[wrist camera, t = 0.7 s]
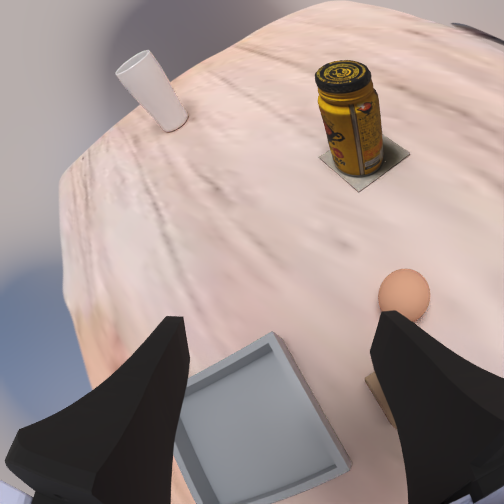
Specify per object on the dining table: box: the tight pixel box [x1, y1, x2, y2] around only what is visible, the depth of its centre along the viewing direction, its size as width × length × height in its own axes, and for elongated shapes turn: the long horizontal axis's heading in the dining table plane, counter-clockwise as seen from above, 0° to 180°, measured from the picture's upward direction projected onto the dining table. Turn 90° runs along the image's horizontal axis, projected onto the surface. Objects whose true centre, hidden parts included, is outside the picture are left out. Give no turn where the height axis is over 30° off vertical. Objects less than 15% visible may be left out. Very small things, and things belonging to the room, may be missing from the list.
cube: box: [365, 372, 397, 429], centre depth 19 cm, size 4×4×4 cm
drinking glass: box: [116, 50, 188, 132], centre depth 45 cm, size 7×7×15 cm
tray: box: [173, 331, 352, 504], centre depth 22 cm, size 13×13×3 cm
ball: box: [378, 269, 430, 322], centre depth 22 cm, size 4×4×4 cm
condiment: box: [315, 60, 410, 192], centre depth 28 cm, size 7×8×12 cm
